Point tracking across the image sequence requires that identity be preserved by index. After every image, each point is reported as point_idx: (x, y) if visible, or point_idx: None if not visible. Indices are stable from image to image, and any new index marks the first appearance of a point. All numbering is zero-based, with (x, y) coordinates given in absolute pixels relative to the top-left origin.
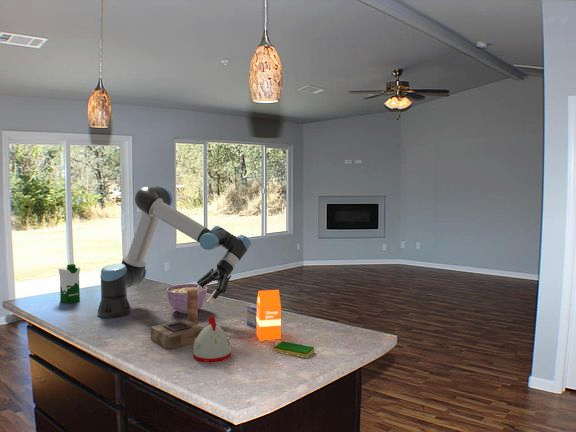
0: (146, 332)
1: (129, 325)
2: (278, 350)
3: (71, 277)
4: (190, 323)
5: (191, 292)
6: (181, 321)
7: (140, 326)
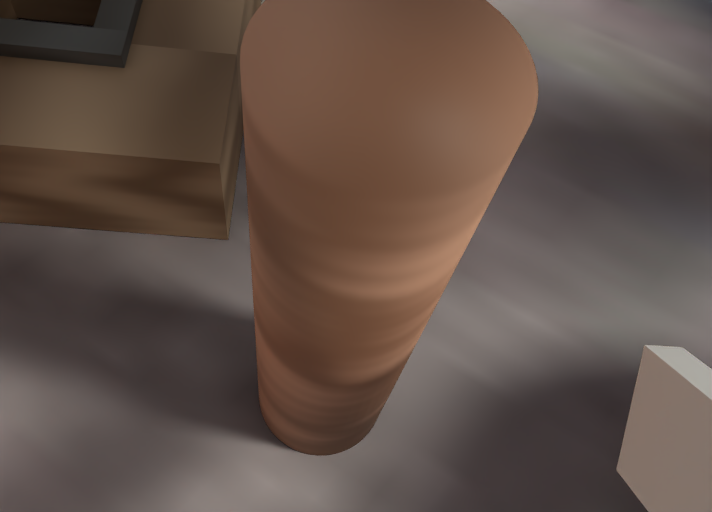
0: None
1: (684, 30)
2: None
3: None
4: (22, 115)
5: (287, 2)
6: (181, 97)
7: (613, 64)
